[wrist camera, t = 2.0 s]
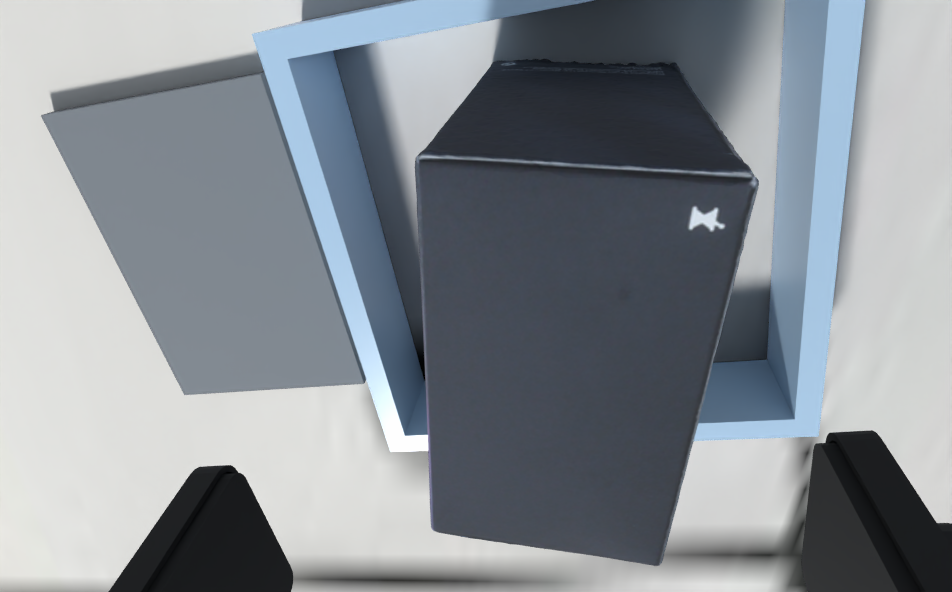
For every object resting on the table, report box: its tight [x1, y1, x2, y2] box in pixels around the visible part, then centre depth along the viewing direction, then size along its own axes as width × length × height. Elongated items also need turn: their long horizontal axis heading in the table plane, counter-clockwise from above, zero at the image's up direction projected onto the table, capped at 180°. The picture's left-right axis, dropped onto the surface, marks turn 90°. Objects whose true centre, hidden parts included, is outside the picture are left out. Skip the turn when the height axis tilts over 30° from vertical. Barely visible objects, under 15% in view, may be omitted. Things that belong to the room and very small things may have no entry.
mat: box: [41, 72, 366, 395], centre depth 25 cm, size 9×13×1 cm
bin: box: [252, 0, 865, 452], centre depth 20 cm, size 16×16×4 cm
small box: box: [415, 59, 759, 566], centre depth 17 cm, size 11×6×10 cm, turn 0°
